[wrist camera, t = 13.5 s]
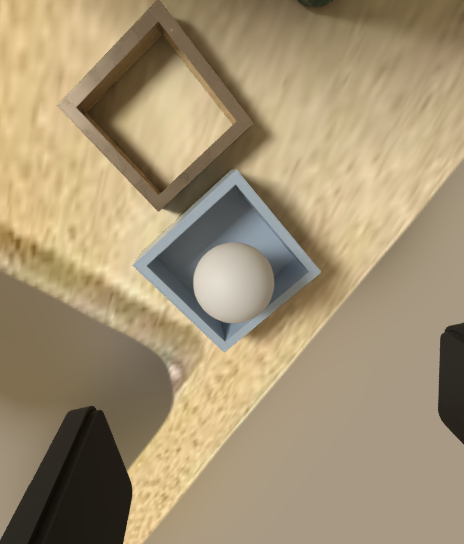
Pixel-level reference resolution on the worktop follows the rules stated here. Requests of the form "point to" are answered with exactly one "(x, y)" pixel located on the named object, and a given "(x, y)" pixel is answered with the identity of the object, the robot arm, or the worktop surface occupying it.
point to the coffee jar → (315, 2)
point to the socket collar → (114, 68)
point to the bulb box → (215, 231)
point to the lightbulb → (233, 282)
